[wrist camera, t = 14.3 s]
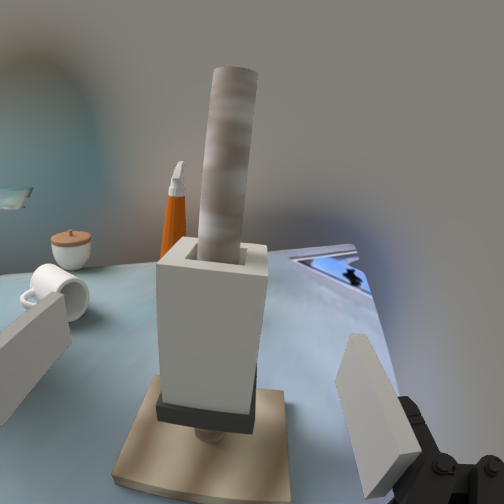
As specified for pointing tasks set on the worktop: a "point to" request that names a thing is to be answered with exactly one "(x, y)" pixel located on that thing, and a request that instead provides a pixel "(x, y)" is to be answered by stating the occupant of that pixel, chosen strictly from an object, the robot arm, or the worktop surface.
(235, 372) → the sleeve
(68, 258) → the lidded jar
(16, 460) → the worktop surface
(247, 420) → the thin dark grey plate
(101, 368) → the worktop surface
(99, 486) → the worktop surface
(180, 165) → the spray bottle
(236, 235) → the pipe stand
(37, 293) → the mug
